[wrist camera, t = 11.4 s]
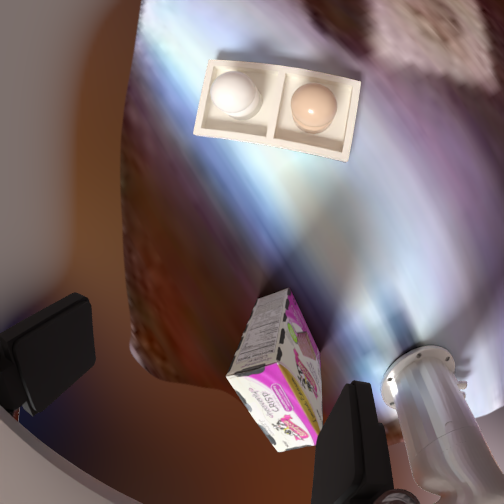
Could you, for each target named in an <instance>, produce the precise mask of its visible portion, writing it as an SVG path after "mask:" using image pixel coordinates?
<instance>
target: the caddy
mask: <svg viewBox="0 0 504 504" xmlns="http://www.w3.org/2000/svg"><path fill="white" fill-rule="evenodd" d="M229 71H238V72H241V73H244V74H246V75H247V76H248V77H250V79H251V80H252V81H253V83H254V84H255V86H256V87H257V89H258V90H259V92H260V94H261V96H262V106H261V109H260V111H259V112H258V113H257V114H256V115H255V116H254V117H252V118H250V119H247V120H236V119H234V118H232V117H230V116H229V115H227V114H226V113H224V112H223V111H221V110H220V109H218V108H217V107H216V106H215V105H214V103H213V101H212V99H211V95H210V90H211V86H212V83H213V82H214V80H215V79H216V78H217V77H218V76H219V75H221V74H223V73H225V72H229ZM308 83H318V84H321V85H324V86H325V87H327V88H328V89H330V90H331V91H332V93H333V94H334V96H335V98H336V101H337V112H336V115H335V117H334V119H333V121H332V123H331V125H330V126H329V127H328V129H326V130H325V131H323V132H321V133H318V134H309V133H306V132H303V131H302V130H300V129H299V128H298V127H297V126H296V124H295V123H294V121H293V117H292V111H291V98H292V95H293V93H294V92H295V91H296V89H298V88H299V87H300V86H302V85H304V84H308ZM360 85H361V82H360V81H356V80H352V79H348V78H344V77H340V76H336V75H331V74H327V73H322V72H317V71H311V70H306V69H300V68H294V67H287V66H280V65H273V64H264V63H255V62H243V61H229V60H209V61H208V65H207V70H206V74H205V78H204V83H203V87H202V92H201V97H200V102H199V106H198V111H197V117H196V122H195V127H194V132H193V134H194V135H197V136H203V137H212V138H220V139H227V140H234V141H241V142H248V143H254V144H260V145H266V146H272V147H277V148H282V149H288V150H293V151H298V152H303V153H307V154H312V155H317V156H321V157H325V158H330V159H334V160H338V161H342V162H348V159H349V154H350V148H351V143H352V137H353V131H354V125H355V119H356V113H357V107H358V100H359V93H360Z"/></svg>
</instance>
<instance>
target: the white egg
mask: <svg viewBox="0 0 504 504" xmlns="http://www.w3.org/2000/svg"><path fill="white" fill-rule="evenodd" d="M210 95H211V99H212V101H213V103H214V105H215V106H216V107H217V108H218V109H220V110H221V111H223V112H224V113H226V114H227V115H229V116H230V117H232V118H234V119H236V120H247V119H250V118H252V117H254V116H255V115H256V114H257V113H258V112H259V111H260V109H261V106H262V96H261V94H260V92H259V90H258V89H257V87H256V86H255V84H254V83H253V81H252V80H251V79H250V77H248V76H247V75H246V74H244V73H241V72H238V71H229V72H225V73H223V74H221V75H219V76H218V77H217V78H216V79H215V80H214V82H213V83H212V86H211V90H210Z"/></svg>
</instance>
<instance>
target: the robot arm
mask: <svg viewBox="0 0 504 504" xmlns="http://www.w3.org/2000/svg"><path fill="white" fill-rule="evenodd" d="M95 360H96V356H95V347H94V337H93V326H92V309H91V304H90V303H89V300H88V298H87V297H85V296H83V295H80V294H78V293H72V294H70V295H68V296H66V297H65V298H63V299H61V300H59V301H57V302H55V303H54V304H52V305H50V306H48V307H46V308H44V309H42V310H41V311H39V312H37V313H35V314H33V315H32V316H30V317H28V318H26V319H25V320H23V321H21V322H19V323H17V324H16V325H14V326H12V327H11V328H9V329H7V330H6V331H4V332H2V333H0V504H143V503H140V502H138V501H136V500H134V499H132V498H130V497H128V496H125V495H124V494H122V493H120V492H118V491H116V490H114V489H113V488H111V487H109V486H107V485H105V484H104V483H102V482H100V481H98V480H97V479H95V478H93V477H92V476H90V475H88V474H87V473H85V472H84V471H82V470H81V469H79V468H77V467H76V466H74V465H73V464H71V463H70V462H69V461H67V460H66V459H64V458H63V457H61V456H60V455H58V454H57V453H56V452H54V451H53V450H52V449H50V448H49V447H48V446H46V445H45V444H44V443H43V442H41V441H40V440H39V439H38V438H36V437H35V436H34V435H33V434H31V433H30V432H29V431H28V430H27V429H26V428H24V427H23V426H22V425H21V424H20V423H19V422H18V421H19V420H18V419H19V409H20V408H19V407H20V406H21V405H23V407H24V409H25V410H26V411H27V412H28V413H30V414H31V415H32V416H34V415H35V414H37V413H38V412H42V411H43V410H45V409H46V408H47V407H48V406H49V405H50V404H51V403H52V402H53V401H54V400H55V399H57V398H58V397H59V396H60V395H61V394H62V393H63V392H64V391H66V390H67V389H68V388H69V387H70V386H71V385H72V384H73V383H74V382H76V381H77V380H78V379H79V378H80V377H81V376H82V375H83V374H85V373H86V372H87V371H88V370H89V369H90V368H91V367H92V366H93V365H94V363H95ZM454 372H455V362H454V359H453V357H452V355H451V354H450V353H449V351H447V350H446V349H445V348H443V347H440V346H435V345H430V346H423V347H419V348H416V349H414V350H411V351H409V352H408V353H406V354H404V355H403V356H401V357H400V358H399V359H397V360H396V361H395V362H394V363H393V364H392V365H391V366H390V367H389V369H388V370H387V371H386V373H385V375H384V377H383V379H382V382H381V395H382V398H383V400H384V402H385V403H386V404H387V405H388V406H389V407H391V408H393V409H396V411H397V414H398V418H399V422H400V425H401V429H402V433H403V437H404V441H405V445H406V449H407V453H408V458H409V462H410V466H411V470H412V475H413V478H414V480H415V482H416V484H417V485H418V486H419V487H421V488H422V489H423V490H425V491H428V492H430V493H433V494H436V495H439V496H440V499H439V500H438V501H437V502H436V503H434V504H504V474H503V472H502V471H501V469H500V468H499V466H498V464H497V462H496V460H495V459H494V457H493V455H492V453H491V451H490V449H489V447H488V445H487V443H486V441H485V438H484V436H483V434H482V432H481V430H480V428H479V426H478V424H477V422H476V420H475V418H474V416H473V414H472V412H471V410H470V408H469V406H468V404H467V402H466V400H465V392H462V391H460V389H465V388H466V387H467V382H466V381H458V380H457V379H456V377H455V375H454ZM311 504H420V502H419V500H418V499H417V497H416V496H415V495H413V494H412V493H411V492H409V491H406V490H403V489H394V485H393V478H392V471H391V464H390V457H389V451H388V445H387V440H386V434H385V429H384V426H383V424H382V423H378V419H377V414H376V408H375V403H374V398H373V393H372V388H371V384H370V383H367V382H361V381H355V380H354V381H352V382H351V384H346V385H345V386H344V388H343V390H342V392H341V394H340V396H339V398H338V400H337V402H336V404H335V406H334V407H333V409H332V411H331V413H330V415H329V417H328V419H327V420H326V422H325V424H324V426H323V427H322V429H321V431H320V433H319V435H318V437H317V441H316V452H315V466H314V478H313V488H312V498H311Z"/></svg>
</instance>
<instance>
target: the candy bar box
mask: <svg viewBox="0 0 504 504" xmlns="http://www.w3.org/2000/svg"><path fill="white" fill-rule="evenodd" d="M226 378H227V379H228V381H229V382H230V384H231V385H232V387H233V388H234V390H235V391H236V393H237V394H238V396H239V397H240V399H241V400H242V402H243V403H244V405H245V406H246V408H247V409H248V411H249V412H250V414H251V415H252V416H253V418H254V419H255V421H256V422H257V424H258V425H259V427H260V428H261V429H262V431H263V432H264V434H265V435H266V436H267V438H268V439H269V440H270V442H271V443H272V445H273V446H274V447H275V448H276V450H277V451H278V452H282V451H287V450H292V449H297V448H302V447H305V446H313V445H316V441H317V437H318V435H319V433H320V431H321V429H322V427H323V417H322V389H321V365H320V352H319V350H318V348H317V346H316V343H315V341H314V339H313V337H312V335H311V333H310V331H309V328H308V326H307V324H306V322H305V320H304V317H303V315H302V313H301V311H300V309H299V307H298V304H297V302H296V300H295V298H294V296H293V294H292V292H291V289H290V288H286V289H283V290H281V291H278V292H276V293H274V294H271V295H268V296H265V297H262V298H259V299H257V301H256V303H255V306H254V308H253V311H252V313H251V316H250V319H249V321H248V324H247V326H246V329H245V331H244V333H243V336H242V338H241V341H240V343H239V346H238V349H237V351H236V353H235V356H234V358H233V361H232V363H231V366H230V368H229V370H228V373H227V375H226Z"/></svg>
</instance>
